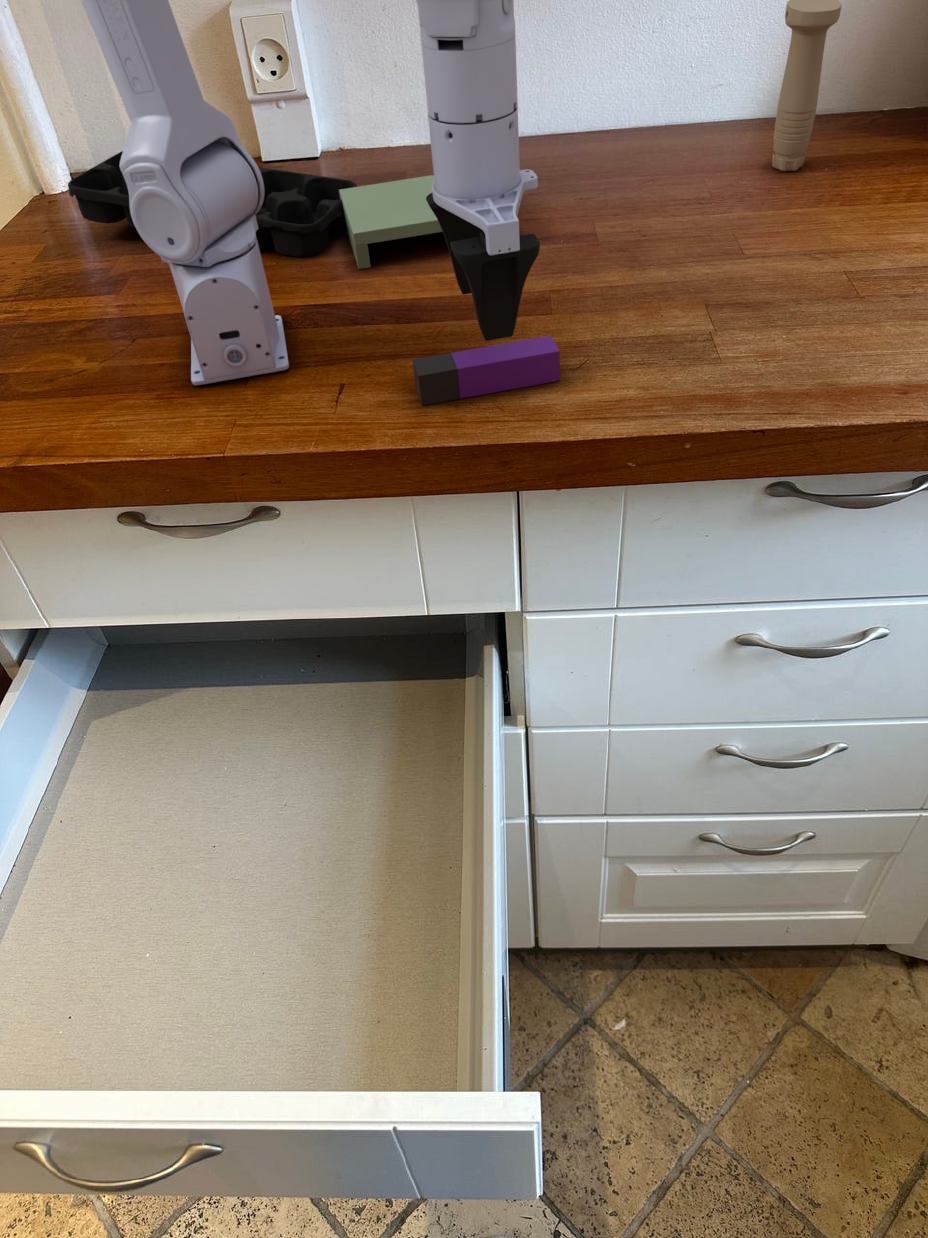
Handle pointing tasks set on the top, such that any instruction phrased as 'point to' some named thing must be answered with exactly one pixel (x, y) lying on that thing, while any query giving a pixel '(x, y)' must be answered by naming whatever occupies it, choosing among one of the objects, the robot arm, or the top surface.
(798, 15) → the handle
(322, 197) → the egg carton
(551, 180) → the top surface
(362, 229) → the shelf
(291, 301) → the top surface
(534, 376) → the marker
